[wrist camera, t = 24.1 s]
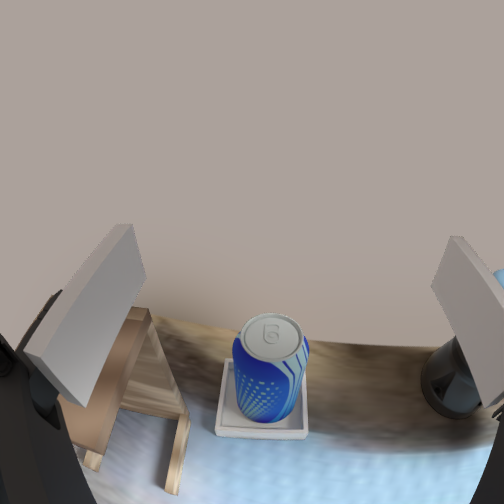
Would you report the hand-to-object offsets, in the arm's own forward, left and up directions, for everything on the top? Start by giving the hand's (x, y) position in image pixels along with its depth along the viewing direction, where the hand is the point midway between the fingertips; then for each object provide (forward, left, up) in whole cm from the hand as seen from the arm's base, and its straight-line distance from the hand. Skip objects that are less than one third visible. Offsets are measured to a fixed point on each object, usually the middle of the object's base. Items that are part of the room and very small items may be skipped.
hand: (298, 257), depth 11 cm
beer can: (+5, -9, -33) cm, 35 cm away
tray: (+6, -8, -34) cm, 35 cm away
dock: (+15, +8, -34) cm, 38 cm away
